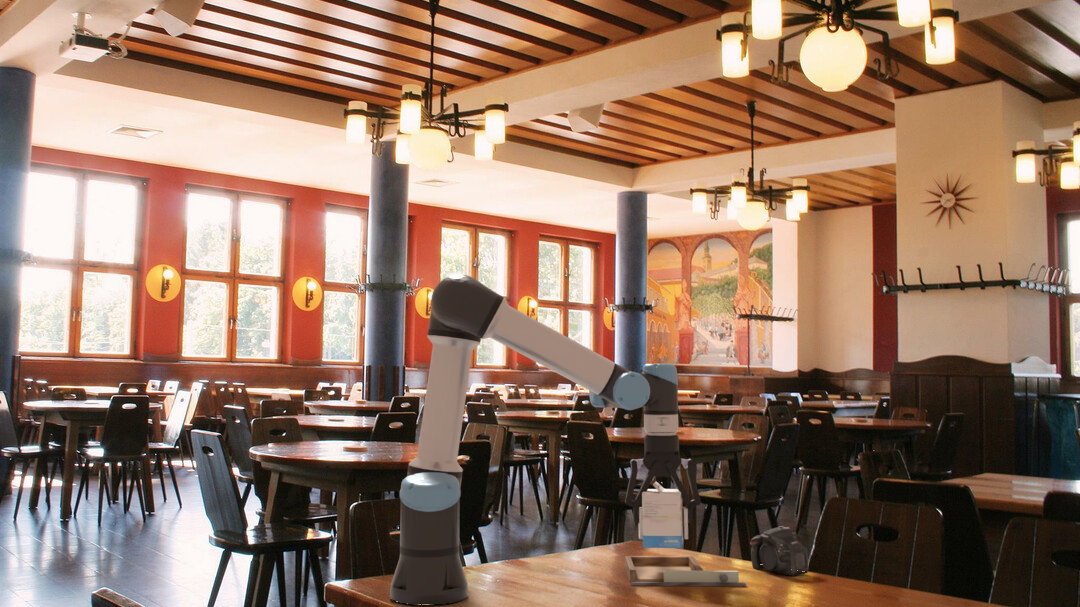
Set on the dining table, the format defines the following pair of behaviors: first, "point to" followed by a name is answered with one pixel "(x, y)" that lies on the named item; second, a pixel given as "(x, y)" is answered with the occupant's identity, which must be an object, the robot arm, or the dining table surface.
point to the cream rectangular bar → (701, 576)
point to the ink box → (662, 518)
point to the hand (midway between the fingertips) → (663, 538)
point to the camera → (779, 552)
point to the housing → (653, 567)
